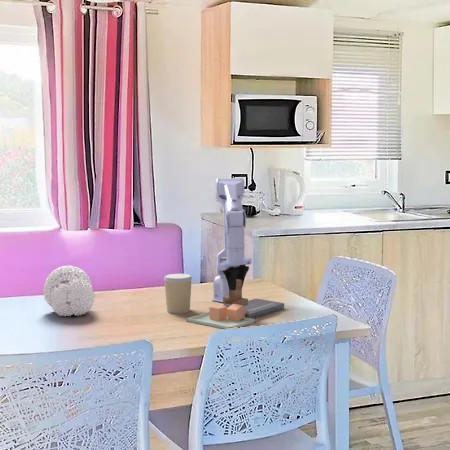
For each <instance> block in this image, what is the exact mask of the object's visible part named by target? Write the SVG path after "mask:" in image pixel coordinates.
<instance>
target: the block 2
mask: <svg viewBox="0 0 450 450" xmlns="http://www.w3.org/2000/svg"><path fill="white" fill-rule="evenodd" d="M226 311H227V317H228V320H231V321H236V322H238V321H240V320H241V319H243V318H244V317H245V312H244V305H239V304H232V305H231V306H229V307H228V308H226Z"/></svg>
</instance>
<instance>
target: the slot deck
mask: <svg viewBox="0 0 450 450" xmlns="http://www.w3.org/2000/svg"><path fill="white" fill-rule="evenodd" d="M221 306H227V308H228V307H229V306H231V304H226V303H224V304H221ZM282 309H283V310H285V303H284V302H279V301H275V300H269V299H261V298H253V299H248V305H246V306H244V312H245V317H247V318H252V319H255V320H256V319H257V318H260V317H263V316H267V315H271V314H274V313H276V312H280V311H282Z"/></svg>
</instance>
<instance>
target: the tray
mask: <svg viewBox="0 0 450 450" xmlns="http://www.w3.org/2000/svg"><path fill="white" fill-rule="evenodd" d="M186 322H189V323H194V324H198V325H203V326H207V327H212V328H216V329H217V328H218V329H222V330H224V329H223V328H234V327H239V328H241V327H242V328H243V327H245V326H248V325H252V324H254V323H256V318H255V319H252V318H247V317H244V318H243V319H241V320H240V321H238V322H236V321H231V320H228V317H227V319H224V320H221V321H216V320H211V319H210V315H209V311H207V312H204V313H201V314H197V315H196V314H195V315H193V316H190V317H187V318H186Z"/></svg>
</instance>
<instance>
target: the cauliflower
mask: <svg viewBox="0 0 450 450" xmlns="http://www.w3.org/2000/svg"><path fill="white" fill-rule="evenodd" d="M91 282H92V281H91V279H90V277H89V275H88V274H87V273H86V272H85V271H84V270H83V269H81V268H79V267H78V266H73V265H63V266H60V267H56V269H54V270H52V271H51V272H50V273H49V275H47V277H46V279H45V282H44V284H43V285H44V286H43V288H42V289H43V297H44V299H43V300H44V301H45V302H46V303H47V304H48V305H49V306H50V307H51V309H52V310H53V312H54V313H55V314H57V315H58V316H59V317H66V316H68V317H72V316H73V315H74V316H75V317H76V316H77V317H80V316H82V314H83V315H85V314H86V313H88V312H89V311H90V310H91V308H93V305H94V301H95V292H94V289H93V287H92V283H91ZM71 315H72V316H71ZM79 315H80V316H79Z"/></svg>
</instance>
